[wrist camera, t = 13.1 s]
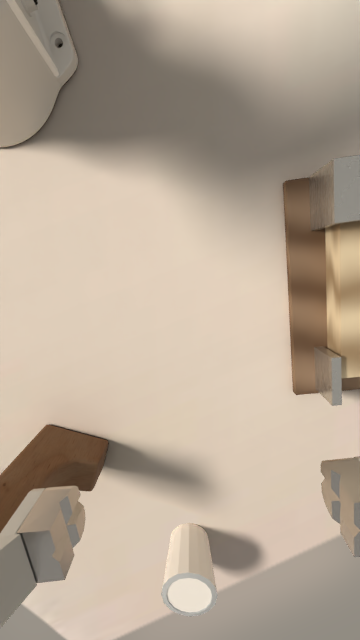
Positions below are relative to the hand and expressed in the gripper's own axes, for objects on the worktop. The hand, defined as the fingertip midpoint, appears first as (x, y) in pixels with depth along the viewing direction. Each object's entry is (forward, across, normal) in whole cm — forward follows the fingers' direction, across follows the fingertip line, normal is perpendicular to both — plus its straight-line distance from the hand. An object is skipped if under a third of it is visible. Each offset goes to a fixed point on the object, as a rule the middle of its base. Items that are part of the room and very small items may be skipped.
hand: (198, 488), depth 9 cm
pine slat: (+24, -18, -2) cm, 30 cm away
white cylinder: (+24, +5, +32) cm, 41 cm away
